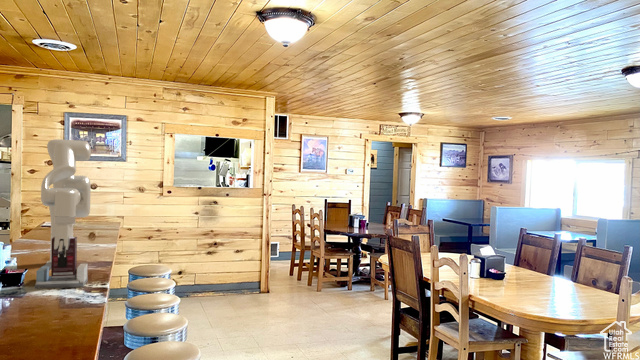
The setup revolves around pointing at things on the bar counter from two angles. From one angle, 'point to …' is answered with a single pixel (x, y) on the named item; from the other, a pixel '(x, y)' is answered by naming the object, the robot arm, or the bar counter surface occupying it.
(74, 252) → the supplement box
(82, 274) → the vise bed
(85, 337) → the bar counter surface
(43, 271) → the sliding jaw
